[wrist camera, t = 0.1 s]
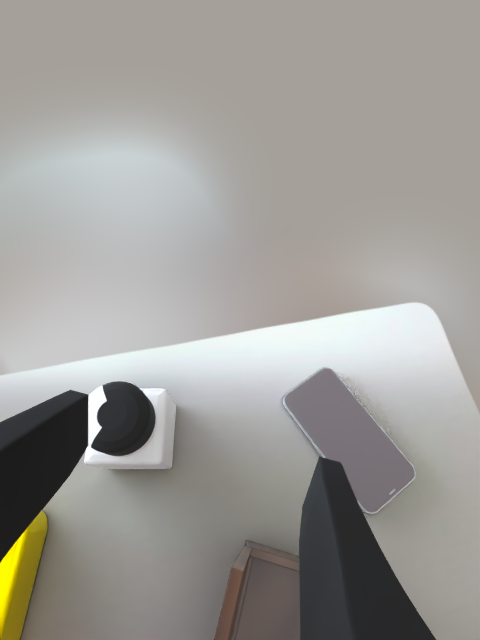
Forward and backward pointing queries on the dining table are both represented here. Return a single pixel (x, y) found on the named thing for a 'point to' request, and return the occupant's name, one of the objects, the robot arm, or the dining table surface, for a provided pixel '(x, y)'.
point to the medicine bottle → (130, 427)
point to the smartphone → (350, 438)
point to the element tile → (20, 577)
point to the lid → (233, 596)
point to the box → (269, 596)
